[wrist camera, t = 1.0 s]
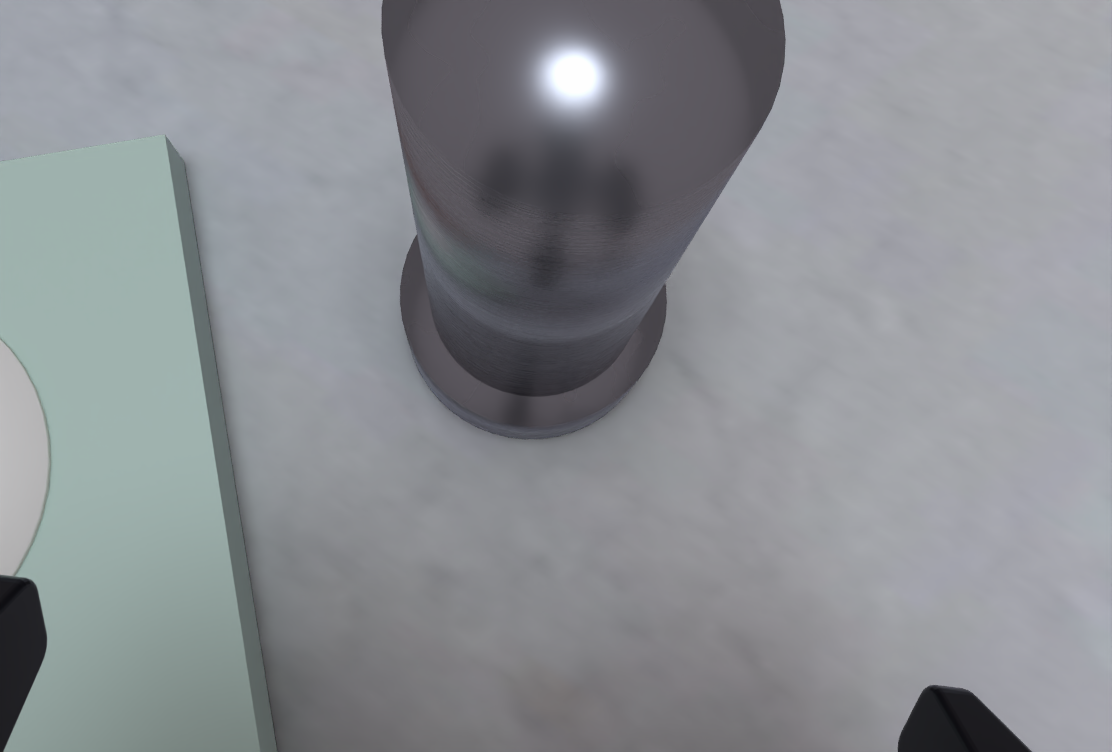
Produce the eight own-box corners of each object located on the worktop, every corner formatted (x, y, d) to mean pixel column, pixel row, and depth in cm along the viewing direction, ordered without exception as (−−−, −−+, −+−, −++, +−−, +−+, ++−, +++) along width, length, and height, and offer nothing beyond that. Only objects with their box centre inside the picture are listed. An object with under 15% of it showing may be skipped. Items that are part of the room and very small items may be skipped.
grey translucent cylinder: (678, 410, 24) (903, 216, 11) (433, 463, 23) (375, 319, 10) (619, 183, 25) (762, -223, 12) (385, 226, 24) (281, -161, 12)
